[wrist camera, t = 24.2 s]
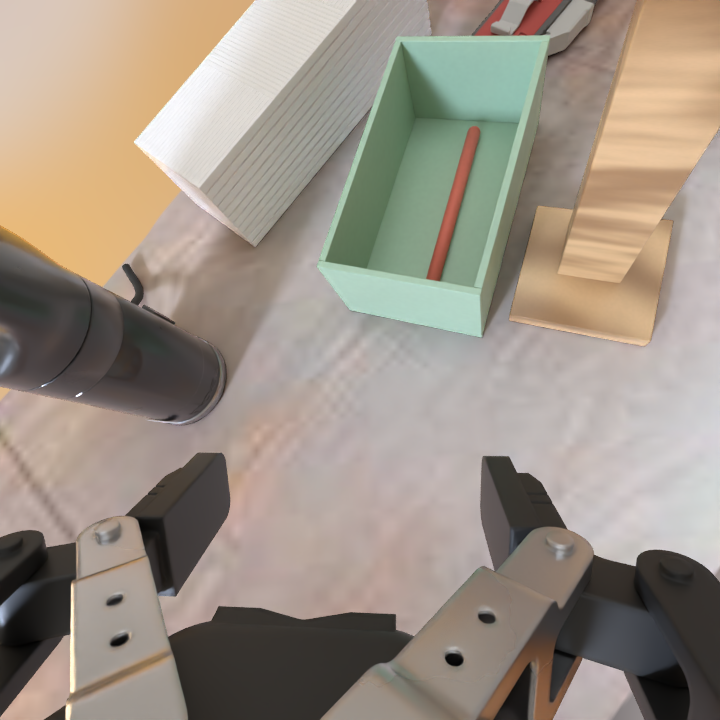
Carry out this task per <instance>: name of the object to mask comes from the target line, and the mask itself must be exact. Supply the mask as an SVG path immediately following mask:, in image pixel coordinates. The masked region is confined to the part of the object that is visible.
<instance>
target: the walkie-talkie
mask: <svg viewBox="0 0 720 720" xmlns="http://www.w3.org/2000/svg"><path fill="white" fill-rule="evenodd" d="M596 1H597V0H500V2H499V3H498V4H497V5H496V6H495V8H494V9H493V10H492V12H491V13H490V14H489V15H488V17H486V18H485V20H484V21H483V22H482V24H481V25H479V27H478V28H477V29H476V31H475V32H474V33H473V34H472V35H471V36H531V35H550V43H549V51H548V56H549V55H552V54H554V53H557V52H559V51H562V50H564V49H566V48H567V46H568V45H569V44H570V43H571V42H572V40H573V39H574V38H575V37H576V36H577V35H578V33H579V32H580V31H581V30H582V29H583V27H585V26H587V25H588V23H589V22H590V21H591V17H592V13H593V8H594V6H595V4H596Z"/></svg>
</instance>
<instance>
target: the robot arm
mask: <svg viewBox="0 0 720 720" xmlns="http://www.w3.org/2000/svg"><path fill="white" fill-rule="evenodd" d="M122 268H123V270H124V272H125V273H126V275H127V277H128V278H129V280H130V281H131V283H132V284H133V286H134V289H135V297H134V298H133V299H132V301H131V302H130V301H128V300H126V299H124V298H122V297H120V296H118V295H116V294H114V293H112V292H110V291H108V290H106V289H104V288H102V287H101V286H99V285H96V284H95V283H93V282H91V281H89V280H87V279H85V278H83V277H81V276H79V275H77V274H76V273H74V272H72V271H70V270H68V269H67V268H65V267H63V266H61V265H59V264H58V263H56V262H55V261H53V260H52V259H51V258H49V257H48V256H46V255H45V254H44V253H42V252H41V251H40V250H38V249H37V248H35V247H34V246H33V245H31V244H30V243H29V242H27V241H26V240H24V239H23V238H21V237H20V236H18V235H16V234H15V233H13V232H11V231H9V230H8V229H6V228H4V227H2V226H0V387H4V388H9V389H13V390H18V391H23V392H28V393H32V394H37V395H42V396H47V397H51V398H57V399H62V400H66V401H71V402H76V403H81V404H85V405H90V406H95V407H99V408H104V409H109V410H113V411H118V412H123V413H128V414H132V415H137V416H142V417H146V418H150V419H155V420H160V421H155V422H165V423H169V424H174V425H187V424H191V423H194V422H196V421H198V420H200V419H202V418H203V417H205V416H206V415H207V414H208V413H209V412H210V411H211V410H212V409H213V408H214V407H215V405H216V404H217V403H218V401H219V399H220V397H221V395H222V393H223V390H224V387H225V382H226V367H225V362H224V359H223V357H222V355H221V353H220V352H219V350H218V349H217V348H216V347H215V346H214V345H212V344H211V343H209V342H207V341H206V340H204V339H201V338H199V337H196V336H194V335H192V334H190V333H188V332H187V331H185V330H183V329H181V328H179V327H177V326H175V325H174V324H175V322H173V321H172V320H170V319H169V318H167V317H166V316H164V315H162V314H160V313H159V312H157V311H155V310H153V309H151V308H149V307H147V306H146V305H143V307H142V308H141V307H139V306H138V305H139V303H140V302H141V300H142V299H143V289H142V286H141V283H140V281H139V280H138V278H137V277H136V275H135V274H134V272H133V270H132V269H131V267H130V265H129V264H124V265H123V266H122ZM148 421H154V420H148ZM229 508H230V492H229V484H228V476H227V468H226V460H225V457H224V455H223V454H222V453H197V454H196V455H195V456H194V457H193V458H192V459H191V460H190V461H189V462H188V463H187V464H186V465H185V466H184V467H183V468H179V469H178V470H176V471H174V472H172V473H170V474H168V475H167V476H165V477H164V478H163V479H162V480H161V481H160V482H159V483H158V484H157V485H156V487H154V488H153V489H152V490H151V491H150V492H149V493H148V495H146V496H145V497H144V498H143V499H142V500H141V501H140V502H139V503H138V504H137V505H136V506H134V507H133V508H132V509H131V510H130V511H129V512H128V513H127V514H126V515H125V516H117V517H111V518H107V519H104V520H101V521H99V522H97V523H95V524H93V525H91V526H89V527H88V528H86V529H85V530H84V531H82V532H81V533H80V535H79V536H78V538H77V540H76V543H70V544H65V545H59V546H53V547H47V548H46V544H45V540H44V536H43V534H42V533H41V532H39V531H35V530H27V531H20V532H15V533H12V534H8V535H6V536H3V537H1V538H0V717H1V715H2V714H3V713H4V711H5V710H6V709H7V708H8V706H9V705H10V704H11V703H12V701H13V700H14V699H15V698H16V696H17V695H18V694H19V693H20V691H21V690H22V689H23V688H24V686H25V685H26V684H27V683H28V681H29V680H30V679H31V678H32V676H33V675H34V674H35V672H36V671H37V670H38V669H39V667H40V666H41V665H42V664H43V662H44V661H45V660H46V659H47V657H48V656H49V655H50V654H51V652H52V651H53V650H54V649H55V647H56V646H57V645H58V644H59V642H60V641H61V640H62V638H63V636H65V635H70V634H71V661H70V697H69V698H68V699H67V703H66V705H65V706H64V707H62V708H61V709H59V710H58V711H56V712H55V713H53V714H52V715H50V716H49V717H47V718H46V719H44V720H553V718H554V716H555V714H556V712H557V710H558V708H559V706H560V704H561V702H562V699H563V697H564V695H565V693H566V691H567V689H568V687H569V685H570V683H571V681H572V679H573V677H574V675H575V673H576V671H577V669H578V667H579V665H580V663H581V661H582V658H585V659H588V660H591V661H594V662H597V663H600V664H603V665H607V666H610V667H613V668H616V669H619V670H622V671H624V674H625V676H626V679H627V681H628V683H629V685H630V688H631V690H632V692H633V694H634V697H635V699H636V701H637V704H638V706H639V708H640V710H641V713H642V715H643V717H644V720H720V582H719V581H718V580H717V578H716V577H715V576H714V575H713V574H712V573H711V572H710V571H709V570H708V569H707V568H706V567H704V566H703V565H702V564H700V563H698V562H697V561H695V560H693V559H691V558H689V557H687V556H684V555H681V554H678V553H675V552H671V551H665V550H648V551H645V552H643V553H641V554H640V555H639V556H638V557H637V562H636V566H631V565H627V564H623V563H618V562H614V561H610V560H606V559H603V558H601V557H598V556H596V555H594V551H593V548H592V546H591V545H590V544H589V542H588V541H587V540H586V539H584V538H583V537H582V536H580V535H578V534H576V533H574V532H572V531H570V530H568V529H567V528H566V526H565V524H564V522H563V521H562V519H561V517H560V515H559V513H558V512H557V510H556V508H555V506H554V505H553V504H552V501H551V499H550V498H549V496H548V495H547V492H546V490H545V489H544V487H543V485H542V483H541V482H540V481H538V480H537V479H536V478H534V477H533V476H532V475H530V474H529V473H517V472H516V470H515V468H514V466H513V464H512V462H511V460H510V458H509V456H483V458H482V471H481V501H480V508H481V520H482V526H483V529H484V533H485V537H486V540H487V544H488V548H489V551H490V555H491V559H492V563H493V566H494V570H495V571H493V570H491V569H489V568H487V567H485V566H482V567H480V568H478V569H477V570H476V571H475V572H474V573H473V574H472V575H471V576H470V577H469V578H468V580H467V581H466V582H465V583H464V584H463V585H462V586H461V587H460V588H459V589H458V590H457V591H456V592H455V594H454V595H453V596H452V597H451V598H450V599H449V600H448V601H447V602H446V603H445V604H444V605H443V606H442V607H441V609H440V610H439V611H438V612H437V613H436V614H435V615H434V616H433V617H432V618H431V619H430V620H429V621H428V623H427V624H426V625H425V626H424V627H423V628H422V629H421V630H420V631H419V632H418V633H417V634H416V635H415V636H412V635H409V634H407V633H405V632H402V631H398V630H396V614H375V613H353V612H350V613H344V614H338V615H332V616H326V617H319V618H313V619H306V620H301V619H297V618H293V617H290V616H286V615H283V614H279V613H276V612H272V611H269V610H265V609H262V608H244V607H222V606H219V607H218V609H217V611H216V613H215V615H214V617H213V619H212V621H209V622H205V623H201V624H197V625H194V626H191V627H188V628H186V629H183V630H181V631H179V632H177V633H174V634H173V635H171V636H169V637H168V635H167V631H166V627H165V623H164V619H163V615H162V611H161V607H160V603H159V599H158V596H176V595H177V594H178V592H179V591H180V589H181V587H182V586H183V584H184V583H185V581H186V580H187V578H188V577H189V575H190V574H191V572H192V570H193V569H194V567H195V566H196V564H197V563H198V561H199V560H200V558H201V557H202V555H203V553H204V552H205V550H206V549H207V547H208V546H209V544H210V543H211V541H212V540H213V538H214V537H215V535H216V533H217V532H218V530H219V529H220V527H221V526H222V524H223V523H224V521H225V520H226V518H227V516H228V513H229Z"/></svg>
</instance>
